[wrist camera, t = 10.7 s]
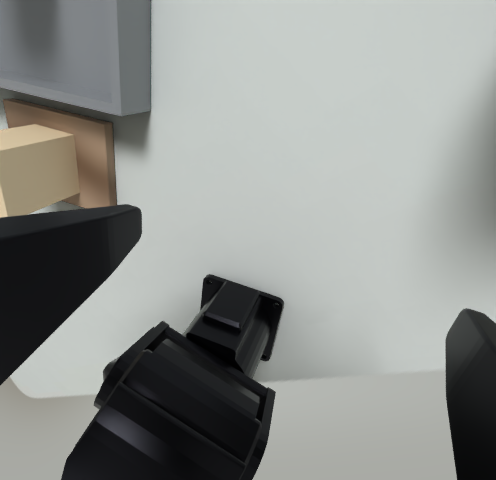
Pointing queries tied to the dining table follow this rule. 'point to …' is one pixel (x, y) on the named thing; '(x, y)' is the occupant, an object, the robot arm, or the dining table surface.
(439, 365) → the dining table surface
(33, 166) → the carton tan
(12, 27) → the bin
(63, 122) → the board
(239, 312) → the robot arm
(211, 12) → the dining table surface
